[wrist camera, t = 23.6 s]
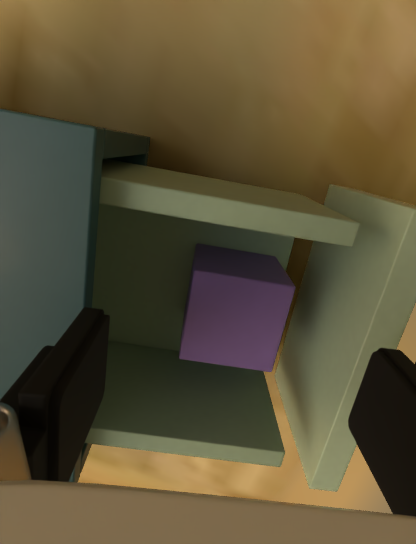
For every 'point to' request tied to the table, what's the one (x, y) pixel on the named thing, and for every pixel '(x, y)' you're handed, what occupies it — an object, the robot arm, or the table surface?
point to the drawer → (301, 332)
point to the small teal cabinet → (50, 230)
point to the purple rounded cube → (235, 308)
